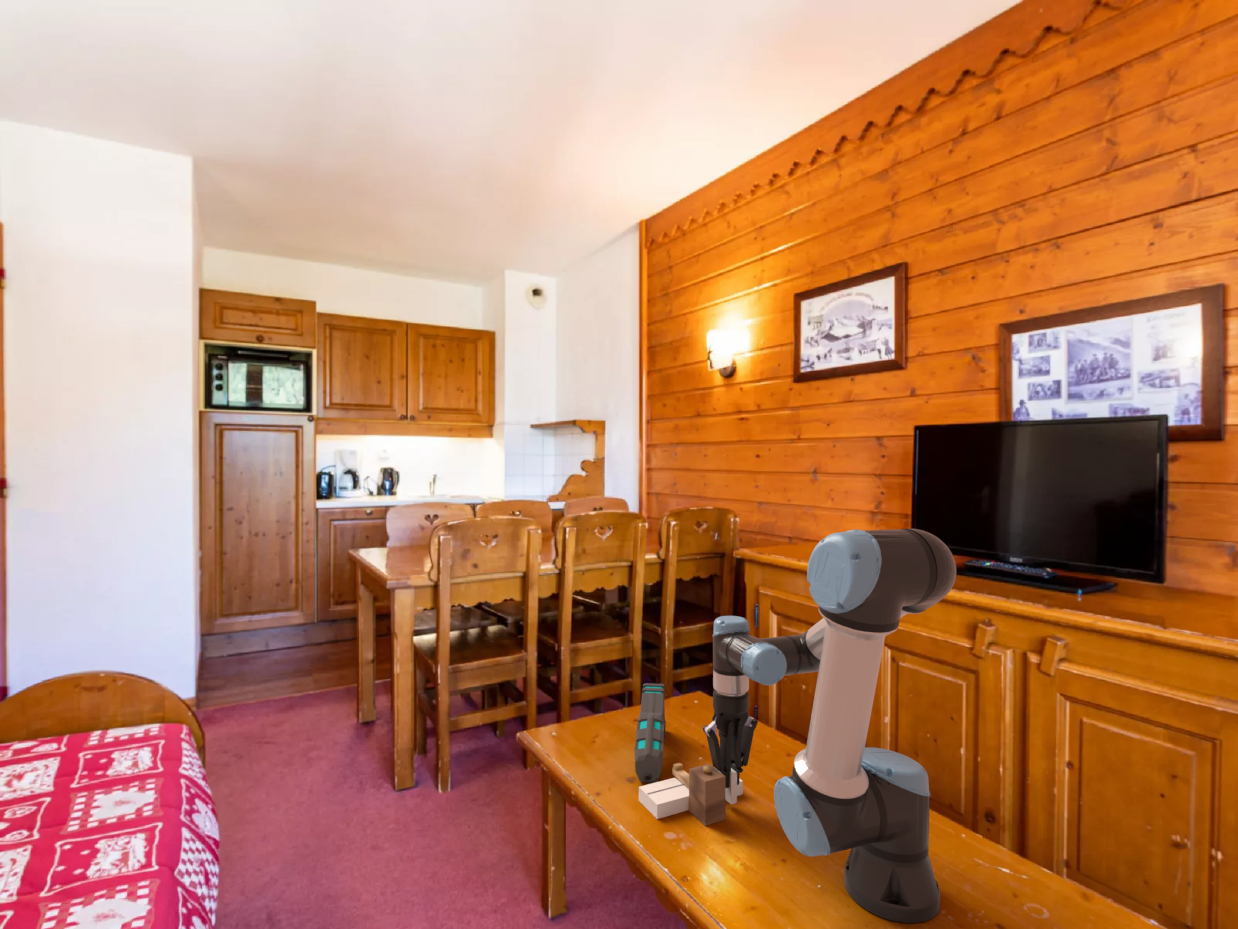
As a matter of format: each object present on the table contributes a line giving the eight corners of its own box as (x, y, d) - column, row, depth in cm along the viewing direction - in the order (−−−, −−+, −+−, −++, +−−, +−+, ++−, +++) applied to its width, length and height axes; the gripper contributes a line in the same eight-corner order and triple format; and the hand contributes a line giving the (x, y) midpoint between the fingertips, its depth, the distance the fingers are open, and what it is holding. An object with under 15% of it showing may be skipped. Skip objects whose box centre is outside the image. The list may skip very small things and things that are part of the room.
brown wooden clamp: (725, 819, 130) (725, 771, 130) (705, 825, 128) (705, 776, 128) (685, 785, 144) (685, 741, 144) (666, 790, 142) (666, 746, 142)
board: (742, 794, 140) (742, 780, 140) (657, 819, 130) (657, 804, 130) (721, 778, 147) (721, 765, 147) (638, 800, 137) (638, 786, 137)
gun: (666, 723, 175) (666, 677, 170) (662, 811, 147) (661, 759, 142) (643, 722, 175) (641, 676, 171) (634, 809, 148) (633, 758, 143)
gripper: (744, 680, 141) (744, 785, 141) (695, 689, 135) (694, 799, 135) (766, 691, 134) (765, 802, 134) (715, 701, 128) (714, 817, 128)
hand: (730, 800), depth 134 cm, fingers closed
